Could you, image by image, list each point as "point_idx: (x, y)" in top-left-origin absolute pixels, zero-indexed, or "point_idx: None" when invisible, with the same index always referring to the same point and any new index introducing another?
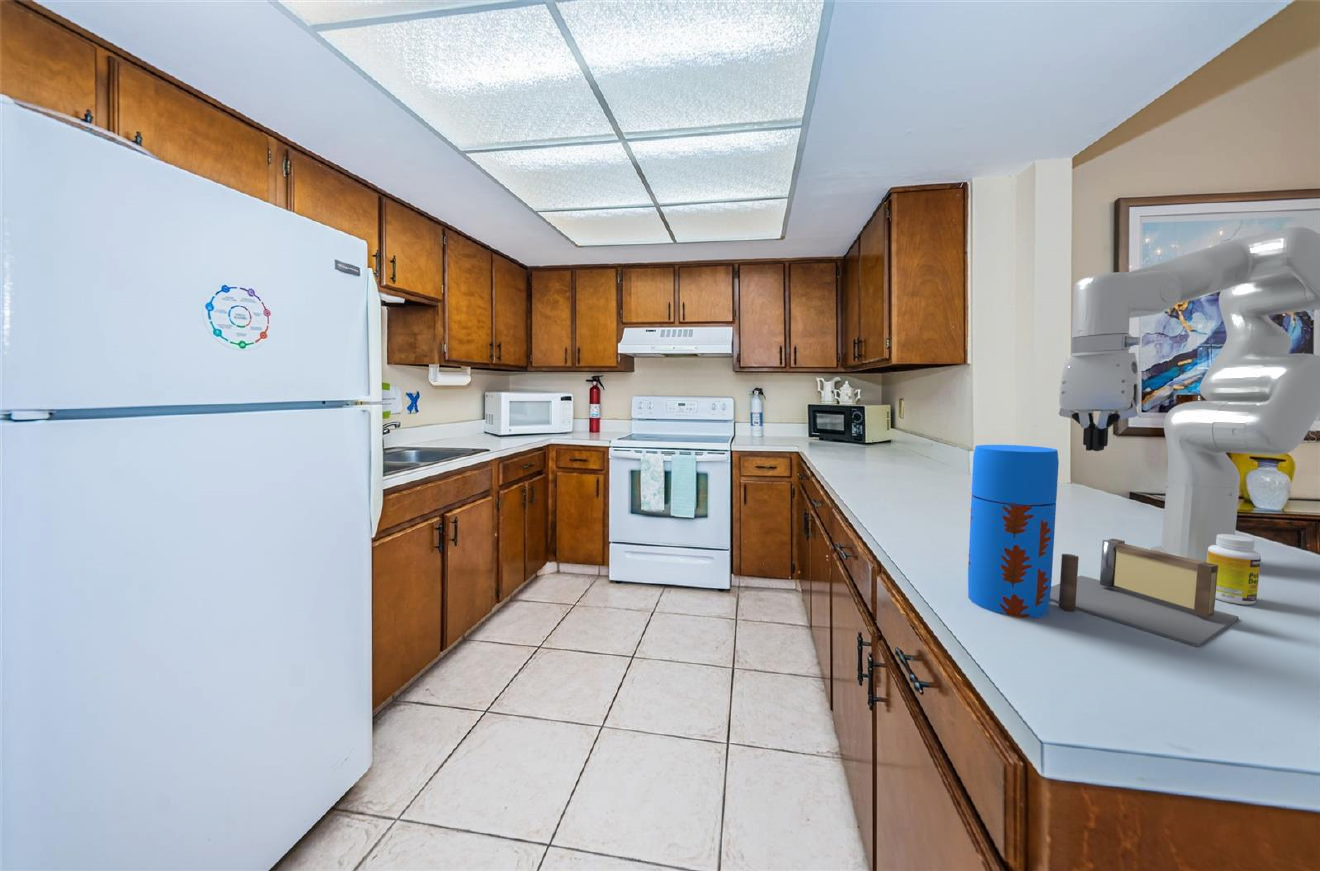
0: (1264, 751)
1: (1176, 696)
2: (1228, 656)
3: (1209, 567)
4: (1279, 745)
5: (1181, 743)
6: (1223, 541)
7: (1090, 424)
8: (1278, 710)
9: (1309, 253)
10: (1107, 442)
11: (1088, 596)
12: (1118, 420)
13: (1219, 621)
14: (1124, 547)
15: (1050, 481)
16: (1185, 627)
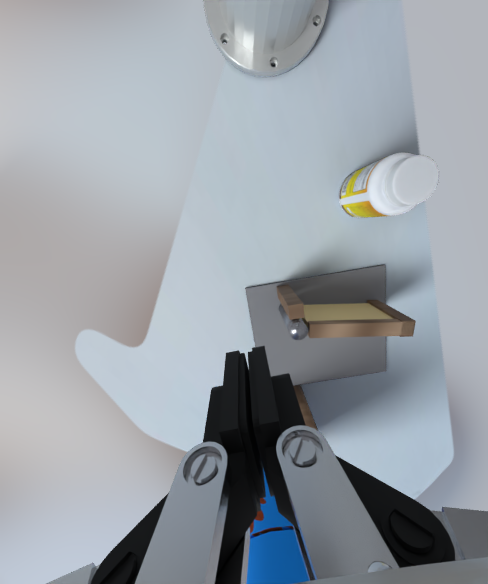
0: (440, 464)
1: (400, 451)
2: (401, 365)
3: (410, 335)
4: (443, 454)
5: (416, 489)
6: (401, 204)
7: (248, 522)
8: (437, 418)
9: None
10: (291, 380)
11: (290, 349)
12: (393, 488)
13: (379, 299)
14: (319, 337)
15: None
16: (368, 344)
